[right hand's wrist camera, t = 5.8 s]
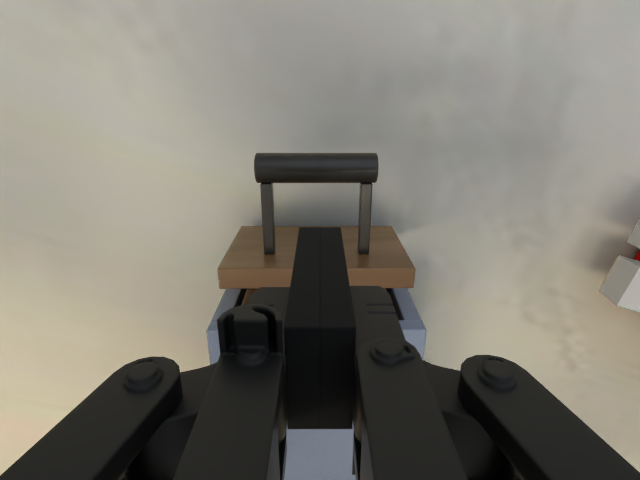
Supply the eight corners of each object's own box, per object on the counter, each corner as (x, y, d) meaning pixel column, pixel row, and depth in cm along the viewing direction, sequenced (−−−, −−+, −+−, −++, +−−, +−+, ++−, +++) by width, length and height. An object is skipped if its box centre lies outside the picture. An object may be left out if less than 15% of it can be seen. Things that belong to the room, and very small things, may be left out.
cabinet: (238, 261, 29) (206, 330, 21) (394, 261, 29) (426, 329, 21) (253, 463, 36) (234, 576, 27) (380, 462, 36) (399, 575, 28)
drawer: (235, 142, 25) (206, 159, 18) (397, 142, 25) (425, 159, 19) (256, 435, 33) (241, 518, 27) (377, 434, 34) (392, 517, 27)
